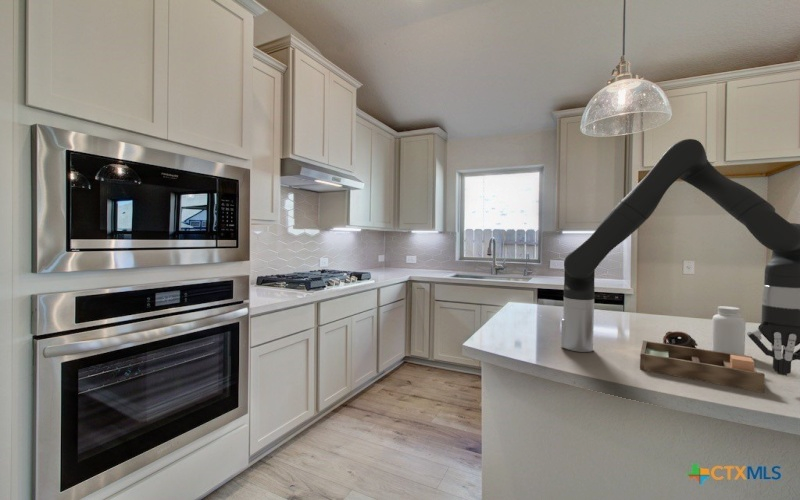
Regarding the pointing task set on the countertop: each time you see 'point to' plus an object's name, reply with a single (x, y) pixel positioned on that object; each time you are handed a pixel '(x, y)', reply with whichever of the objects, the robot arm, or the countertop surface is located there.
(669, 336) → the pottery mug
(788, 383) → the countertop surface
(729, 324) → the pill bottle
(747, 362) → the terracotta block
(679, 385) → the countertop surface
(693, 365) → the box
